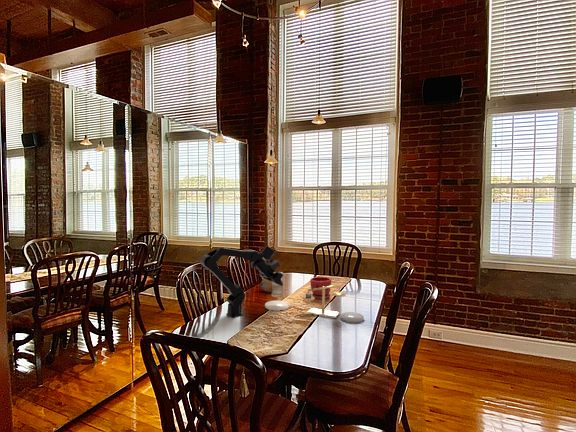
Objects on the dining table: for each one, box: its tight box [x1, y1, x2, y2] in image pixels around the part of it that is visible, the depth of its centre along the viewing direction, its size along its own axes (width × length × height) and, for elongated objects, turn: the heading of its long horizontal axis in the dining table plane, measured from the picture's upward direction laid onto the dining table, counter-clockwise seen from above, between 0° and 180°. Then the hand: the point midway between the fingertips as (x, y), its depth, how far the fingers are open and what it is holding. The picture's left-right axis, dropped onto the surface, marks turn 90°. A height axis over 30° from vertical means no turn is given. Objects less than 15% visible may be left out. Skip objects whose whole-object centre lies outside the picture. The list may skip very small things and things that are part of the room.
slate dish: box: [340, 311, 364, 324], centre depth 185 cm, size 12×12×2 cm
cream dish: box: [264, 300, 290, 312], centre depth 202 cm, size 14×14×2 cm
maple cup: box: [271, 271, 284, 298], centre depth 202 cm, size 7×7×13 cm
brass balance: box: [301, 284, 347, 319], centre depth 191 cm, size 24×7×17 cm, turn 66°
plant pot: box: [309, 276, 332, 300], centre depth 222 cm, size 13×13×12 cm
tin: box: [260, 278, 272, 293], centre depth 234 cm, size 15×3×8 cm, turn 62°
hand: (279, 283), depth 202 cm, fingers closed on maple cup, 6 cm apart
